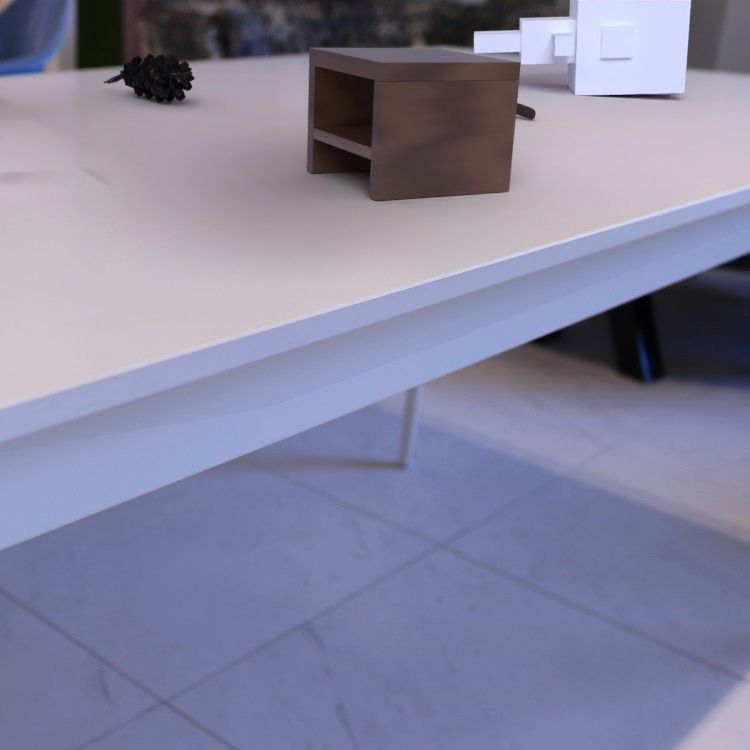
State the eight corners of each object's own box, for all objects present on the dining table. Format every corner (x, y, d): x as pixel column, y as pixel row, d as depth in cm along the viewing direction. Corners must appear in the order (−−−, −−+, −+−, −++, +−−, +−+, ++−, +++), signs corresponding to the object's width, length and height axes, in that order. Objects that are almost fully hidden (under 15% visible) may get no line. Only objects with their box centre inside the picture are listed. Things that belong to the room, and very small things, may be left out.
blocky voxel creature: (475, 88, 157) (666, 83, 155) (473, 108, 134) (698, 104, 131) (475, -17, 152) (673, -24, 149) (473, -15, 129) (707, -23, 126)
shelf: (376, 201, 71) (382, 62, 68) (306, 171, 80) (309, 47, 77) (509, 191, 76) (521, 62, 73) (429, 164, 85) (437, 48, 82)
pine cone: (212, 108, 110) (212, 56, 108) (169, 110, 107) (168, 57, 105) (135, 88, 123) (133, 41, 121) (94, 89, 120) (92, 41, 118)
